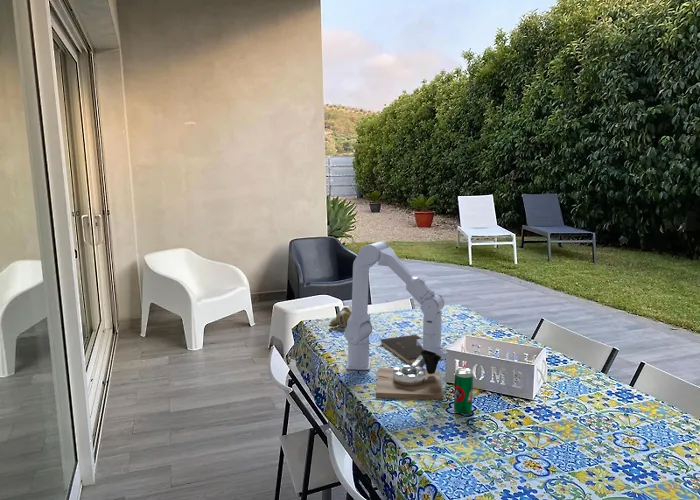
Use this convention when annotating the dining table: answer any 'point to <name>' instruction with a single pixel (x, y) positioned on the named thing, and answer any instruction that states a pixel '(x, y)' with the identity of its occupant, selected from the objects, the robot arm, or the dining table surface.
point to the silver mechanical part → (410, 373)
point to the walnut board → (393, 390)
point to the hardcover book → (404, 347)
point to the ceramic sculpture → (342, 317)
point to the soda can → (463, 391)
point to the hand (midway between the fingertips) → (431, 373)
